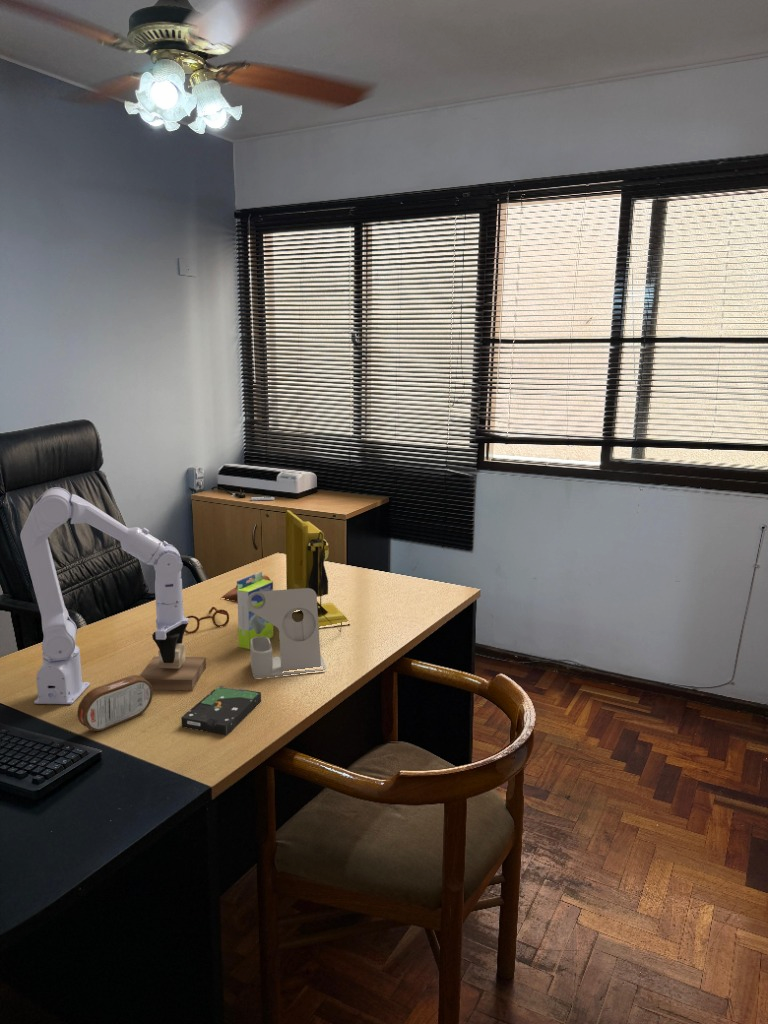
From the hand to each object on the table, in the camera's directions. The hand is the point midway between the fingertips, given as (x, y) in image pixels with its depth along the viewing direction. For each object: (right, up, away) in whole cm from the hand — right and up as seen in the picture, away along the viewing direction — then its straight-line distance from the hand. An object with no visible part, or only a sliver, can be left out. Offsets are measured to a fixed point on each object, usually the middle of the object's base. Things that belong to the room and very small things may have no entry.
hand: (171, 657), depth 158 cm
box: (+15, -1, +23) cm, 27 cm away
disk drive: (+15, -9, -15) cm, 23 cm away
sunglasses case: (+5, +7, +61) cm, 62 cm away
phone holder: (+25, -4, +8) cm, 26 cm away
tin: (-5, -9, -19) cm, 21 cm away
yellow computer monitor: (+30, +2, +38) cm, 49 cm away
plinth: (0, -5, +1) cm, 5 cm away
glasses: (-3, +2, +35) cm, 35 cm away
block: (0, -1, 0) cm, 2 cm away
